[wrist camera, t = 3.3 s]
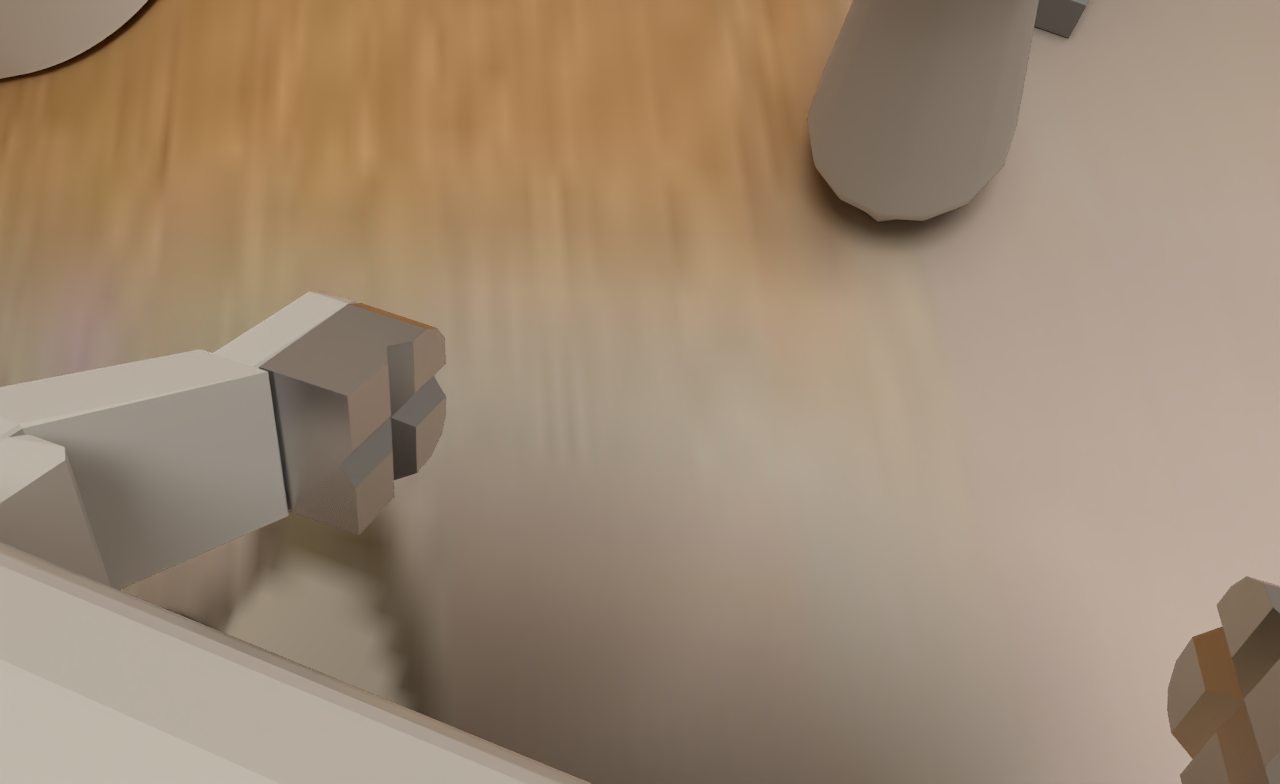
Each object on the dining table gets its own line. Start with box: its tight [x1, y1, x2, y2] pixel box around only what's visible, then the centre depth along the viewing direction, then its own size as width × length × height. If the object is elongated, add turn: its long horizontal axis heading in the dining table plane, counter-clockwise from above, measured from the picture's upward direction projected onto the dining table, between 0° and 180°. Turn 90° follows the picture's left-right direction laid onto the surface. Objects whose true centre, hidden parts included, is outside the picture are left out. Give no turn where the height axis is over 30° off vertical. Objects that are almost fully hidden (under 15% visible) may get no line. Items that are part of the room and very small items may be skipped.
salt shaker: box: [807, 0, 1039, 222], centre depth 21 cm, size 6×6×13 cm
